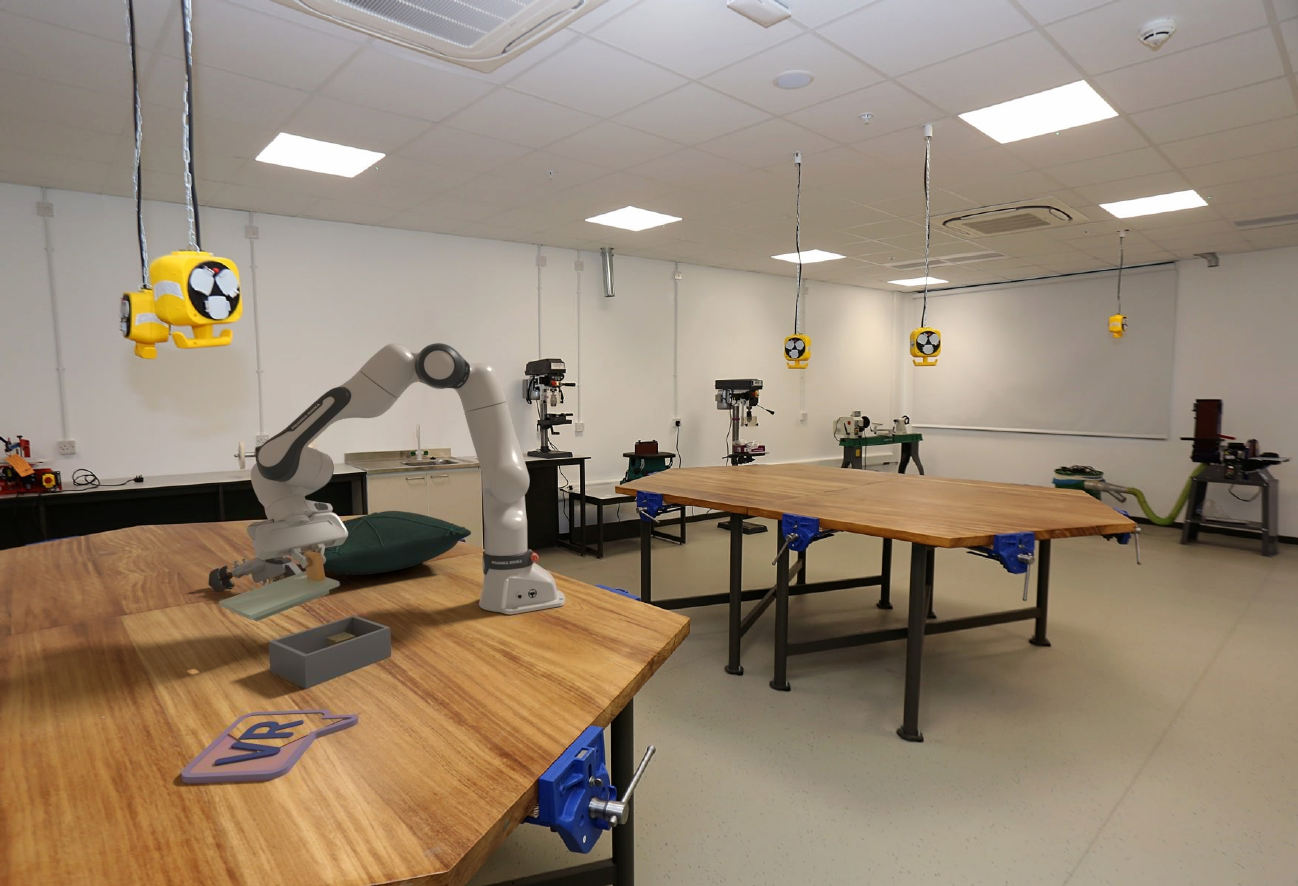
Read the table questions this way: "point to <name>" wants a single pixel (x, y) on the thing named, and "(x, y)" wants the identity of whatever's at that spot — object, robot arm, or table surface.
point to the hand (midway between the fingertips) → (315, 564)
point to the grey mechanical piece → (253, 571)
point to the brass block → (338, 638)
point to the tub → (329, 651)
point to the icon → (242, 760)
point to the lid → (283, 592)
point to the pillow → (391, 542)
